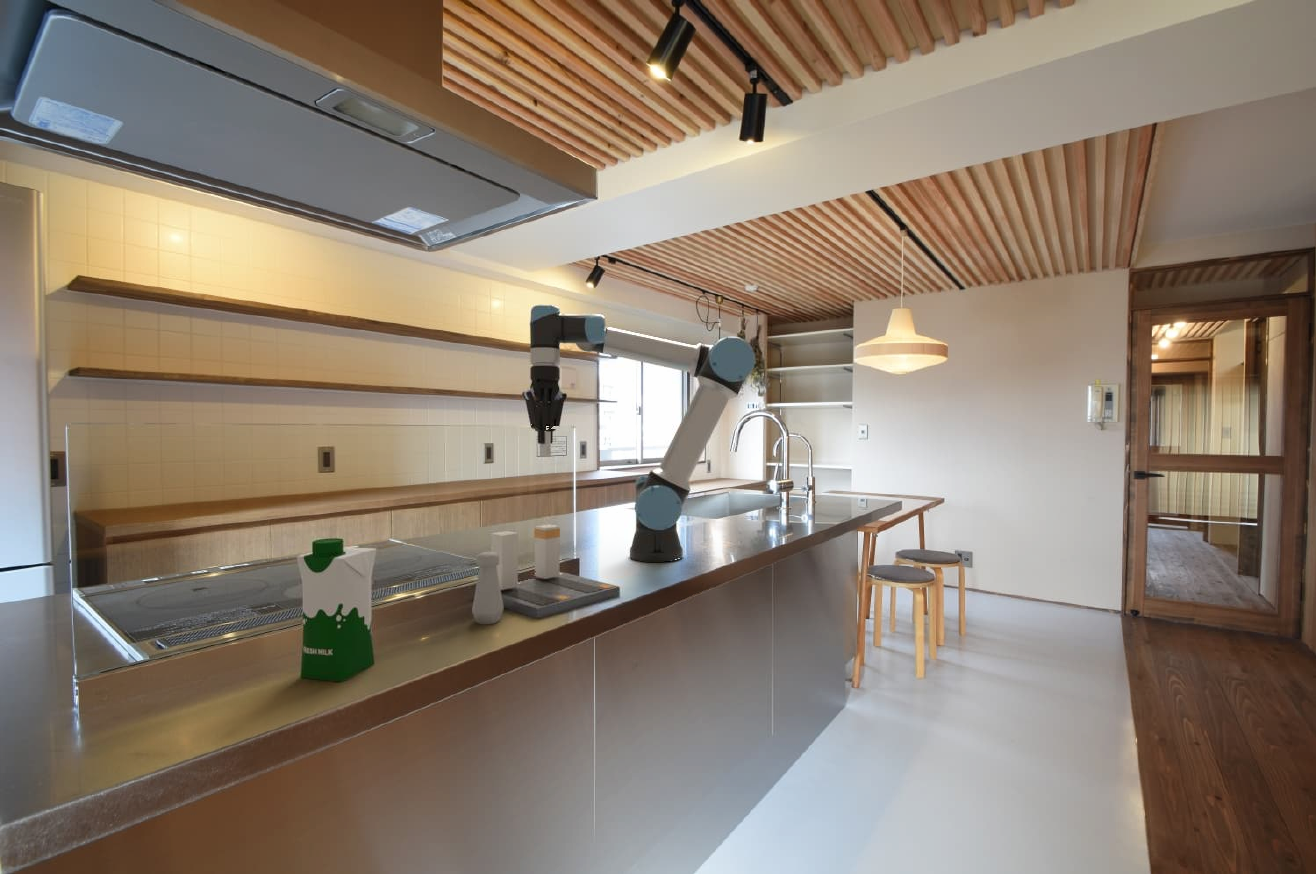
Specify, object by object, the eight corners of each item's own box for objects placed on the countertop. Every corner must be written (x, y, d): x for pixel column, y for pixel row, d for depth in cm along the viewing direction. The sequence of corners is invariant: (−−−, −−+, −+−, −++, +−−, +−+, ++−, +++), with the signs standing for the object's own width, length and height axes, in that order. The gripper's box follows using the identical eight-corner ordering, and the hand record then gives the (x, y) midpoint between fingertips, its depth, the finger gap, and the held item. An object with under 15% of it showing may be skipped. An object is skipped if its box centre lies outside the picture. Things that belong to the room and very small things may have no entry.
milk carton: (290, 680, 87) (289, 542, 87) (335, 657, 96) (335, 532, 96) (342, 685, 85) (342, 544, 85) (384, 661, 94) (383, 534, 94)
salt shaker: (484, 628, 110) (484, 557, 110) (465, 622, 113) (465, 553, 113) (510, 620, 115) (510, 552, 114) (491, 614, 118) (491, 548, 118)
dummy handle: (507, 583, 132) (507, 531, 132) (517, 586, 130) (517, 533, 130) (491, 586, 129) (491, 533, 129) (501, 590, 127) (501, 535, 127)
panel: (556, 578, 146) (556, 570, 146) (619, 595, 132) (619, 586, 132) (475, 597, 130) (475, 587, 130) (537, 619, 115) (537, 608, 115)
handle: (548, 572, 142) (548, 524, 142) (559, 575, 139) (559, 526, 139) (534, 576, 139) (534, 526, 139) (545, 579, 136) (545, 528, 136)
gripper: (555, 368, 164) (555, 455, 164) (515, 364, 154) (515, 456, 155) (573, 366, 159) (573, 456, 159) (533, 362, 149) (533, 457, 150)
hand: (545, 456), depth 157 cm, fingers closed
